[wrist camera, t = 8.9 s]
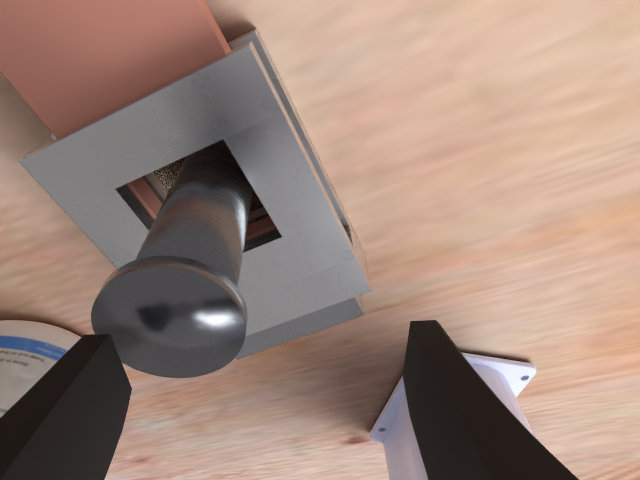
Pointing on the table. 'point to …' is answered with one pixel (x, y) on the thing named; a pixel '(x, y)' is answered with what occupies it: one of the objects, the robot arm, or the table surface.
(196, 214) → the pin
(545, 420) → the table surface
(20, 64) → the link arm
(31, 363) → the supplement tub
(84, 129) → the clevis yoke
